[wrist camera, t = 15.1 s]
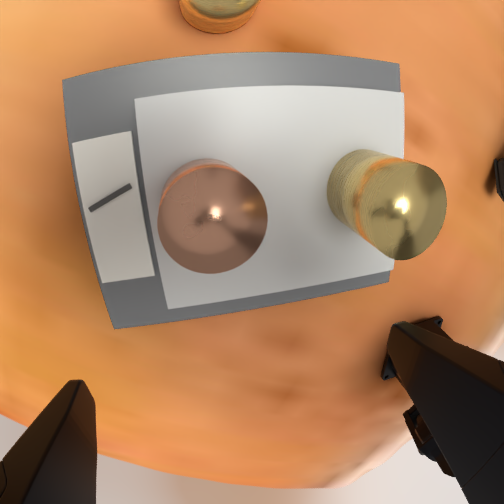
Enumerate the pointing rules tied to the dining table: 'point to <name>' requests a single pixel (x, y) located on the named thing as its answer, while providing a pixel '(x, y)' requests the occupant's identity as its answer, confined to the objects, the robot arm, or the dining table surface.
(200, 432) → the dining table surface
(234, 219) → the brown short cylinder
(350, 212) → the brass short cylinder
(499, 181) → the handgun
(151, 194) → the scale
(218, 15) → the gold cylinder
